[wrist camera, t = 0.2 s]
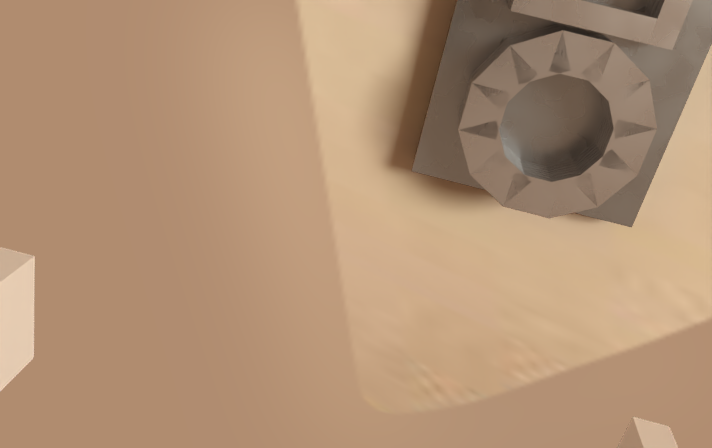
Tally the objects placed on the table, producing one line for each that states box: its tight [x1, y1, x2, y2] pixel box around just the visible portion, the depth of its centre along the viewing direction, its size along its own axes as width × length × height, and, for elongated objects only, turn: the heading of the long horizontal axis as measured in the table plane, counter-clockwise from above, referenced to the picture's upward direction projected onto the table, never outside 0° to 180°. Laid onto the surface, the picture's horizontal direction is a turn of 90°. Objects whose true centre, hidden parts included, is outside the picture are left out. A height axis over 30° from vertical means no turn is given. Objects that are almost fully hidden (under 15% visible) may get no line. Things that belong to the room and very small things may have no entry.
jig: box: [412, 0, 712, 227], centre depth 35 cm, size 18×13×5 cm
